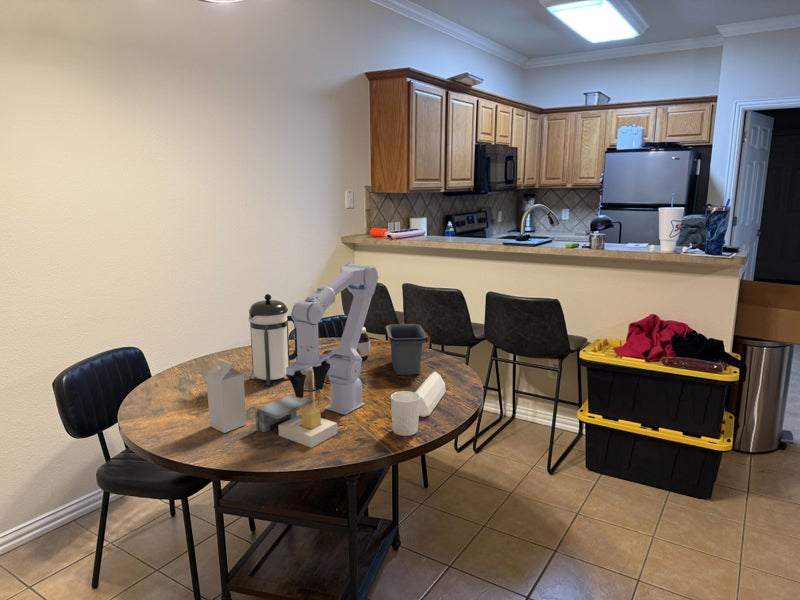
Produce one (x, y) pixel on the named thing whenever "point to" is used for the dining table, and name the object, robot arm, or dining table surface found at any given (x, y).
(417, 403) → the white cup
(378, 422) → the dining table surface
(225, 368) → the milk carton
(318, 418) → the peg
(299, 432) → the socket
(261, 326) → the coffee press
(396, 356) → the storage bin
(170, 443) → the dining table surface
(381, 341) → the dining table surface
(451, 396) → the dining table surface
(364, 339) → the spread jar
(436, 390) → the white pentagonal prism
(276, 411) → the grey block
